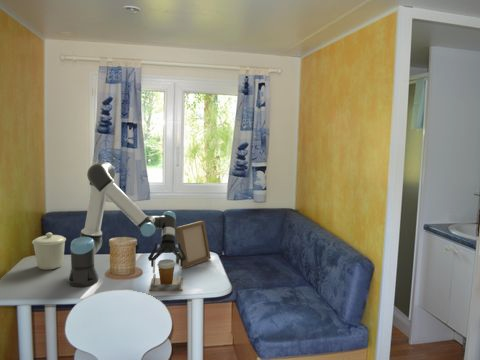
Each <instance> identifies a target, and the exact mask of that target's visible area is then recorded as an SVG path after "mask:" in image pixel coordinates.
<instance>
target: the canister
mask: <svg viewBox="0 0 480 360" xmlns="http://www.w3.org/2000/svg"><path fill="white" fill-rule="evenodd" d="M66 241H67V238H66V237H64V236H63V235H61V234H60V235H59V234H53V233H52V232H49V231H48V232H47V233H45V235H42V236H39V237H36V238H35V239H34V240H32V242H31V243H32V245H33V249H34V255H35V261H36V265H37V267H38V268H39V269H41V270H43V271H44V270H45V271H47V270H56V269H58V268H60V267H61V266H62V265H63V263H64V258H65V257H64V255H65V246H66V245H65V244H66Z"/></svg>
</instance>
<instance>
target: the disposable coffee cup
mask: <svg viewBox="0 0 480 360" xmlns="http://www.w3.org/2000/svg"><path fill="white" fill-rule="evenodd" d="M157 267H158V274H159V278H160V284H172V281H173V278H174V274H175V267H176V261H175V260H173V259H168V258H167V259H161V260H159V261H158V262H157Z"/></svg>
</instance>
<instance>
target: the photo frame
mask: <svg viewBox="0 0 480 360" xmlns="http://www.w3.org/2000/svg"><path fill="white" fill-rule="evenodd" d="M175 238H176V242H177V244H179V243H180V246H181V249H182V250H183V252H184V254H185V256H186V260H183V266H181V268H182V269H186V268H191V267H192V266H196V265H198V264H201V263H203V262H205V261H208V260H211V252H210V245H209V241H208V240H209V239H208V235H207V229H206V221H205V220H200V221H199V220H198V221H196V222H195V221H194V222H192V223H188V224H184V225H180V226H175ZM178 254H179V255H180V256H181V257H182V255H181V253H180V251H179V250H178ZM176 262H178V263H179V259H178V258H177V256H176V255H175V263H176Z"/></svg>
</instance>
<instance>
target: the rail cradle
mask: <svg viewBox="0 0 480 360" xmlns="http://www.w3.org/2000/svg"><path fill="white" fill-rule="evenodd" d="M156 275H157V274H156V273H153V275H152V278H151V281H150V285H149V288H148V292H149V291H154V292H181V291H183V283H184V282H183V280H184V277H182V273H181V272H180V273H179V272H178V277H173V281H172V284H160V277H158V278H156V277H157V276H156Z"/></svg>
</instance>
